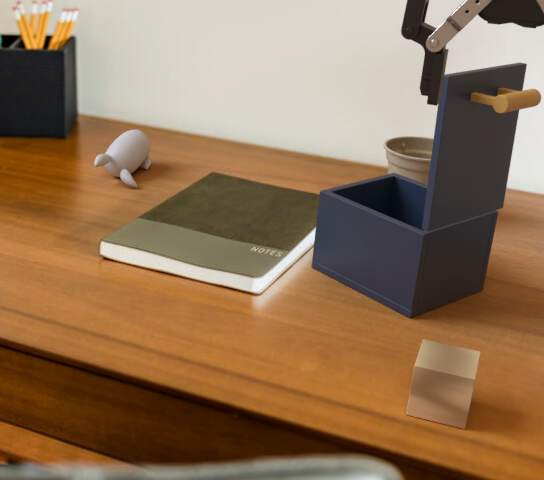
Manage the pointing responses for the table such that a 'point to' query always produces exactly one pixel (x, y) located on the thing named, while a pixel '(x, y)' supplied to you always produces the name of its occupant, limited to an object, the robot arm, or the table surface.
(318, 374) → the table surface
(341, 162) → the table surface
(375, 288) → the chest
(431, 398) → the block
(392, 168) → the flower pot
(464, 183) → the lid
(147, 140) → the grey animal figurine
